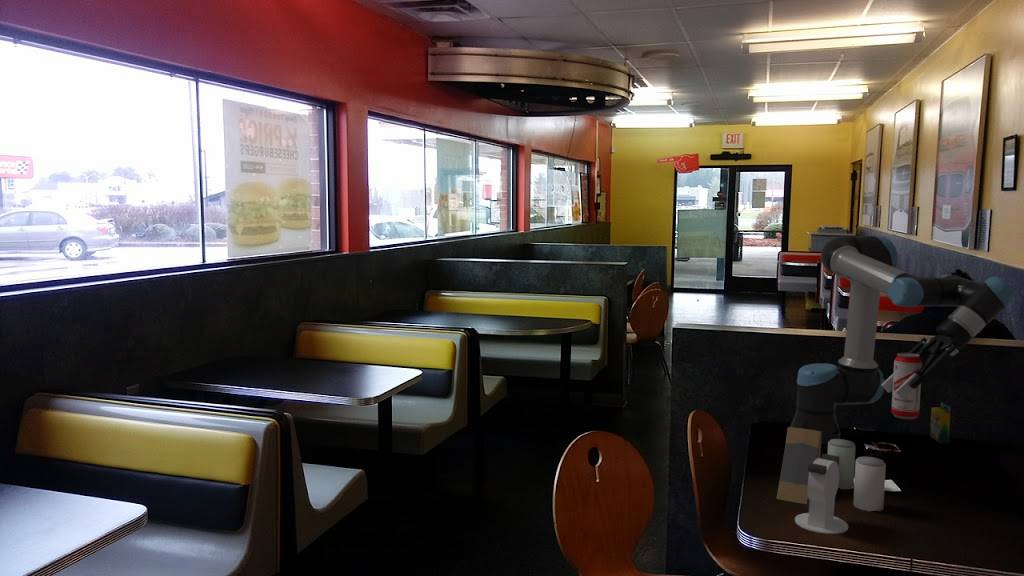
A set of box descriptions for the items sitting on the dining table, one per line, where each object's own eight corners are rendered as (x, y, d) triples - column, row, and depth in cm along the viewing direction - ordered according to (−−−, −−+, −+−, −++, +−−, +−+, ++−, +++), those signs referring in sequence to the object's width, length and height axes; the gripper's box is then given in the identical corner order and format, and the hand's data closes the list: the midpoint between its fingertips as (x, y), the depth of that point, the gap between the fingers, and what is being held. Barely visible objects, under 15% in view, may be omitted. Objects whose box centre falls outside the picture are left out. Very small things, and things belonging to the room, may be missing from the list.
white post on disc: (805, 509, 182) (808, 448, 181) (855, 521, 175) (858, 458, 174) (787, 524, 173) (790, 460, 172) (839, 538, 166) (842, 471, 165)
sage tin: (821, 480, 203) (823, 438, 202) (846, 480, 203) (848, 438, 202) (833, 489, 196) (835, 446, 195) (858, 489, 196) (860, 446, 195)
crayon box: (929, 436, 245) (931, 401, 244) (939, 437, 245) (941, 401, 243) (938, 443, 238) (941, 407, 237) (949, 443, 237) (951, 407, 236)
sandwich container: (774, 499, 189) (777, 440, 188) (785, 481, 203) (787, 426, 201) (811, 505, 185) (814, 446, 184) (819, 486, 199) (822, 430, 197)
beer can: (896, 412, 197) (899, 351, 195) (922, 416, 192) (926, 354, 191) (887, 416, 192) (890, 354, 191) (913, 421, 188) (917, 357, 186)
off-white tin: (848, 501, 188) (850, 456, 187) (874, 501, 188) (877, 456, 187) (861, 511, 181) (864, 465, 180) (888, 511, 182) (891, 464, 180)
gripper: (994, 345, 181) (923, 412, 182) (946, 332, 200) (882, 393, 201) (974, 323, 181) (903, 390, 182) (927, 312, 200) (863, 373, 201)
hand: (892, 391), depth 192 cm, fingers closed on beer can, 6 cm apart
